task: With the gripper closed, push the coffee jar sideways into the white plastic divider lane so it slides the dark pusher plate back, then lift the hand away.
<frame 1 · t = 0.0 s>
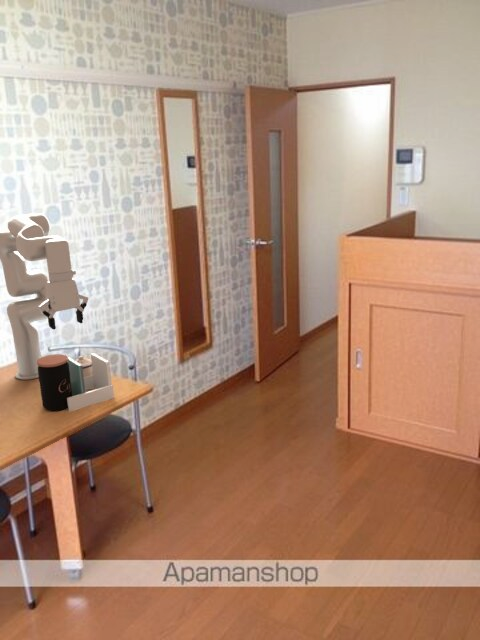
hand: (66, 325, 204), 31 cm above the table, tool pointing down, fingers open, 9 cm apart
coffee jar: (58, 406, 216), on the table
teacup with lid: (83, 383, 236), on the table
pusher plate: (75, 380, 219), point 8 cm above the table, slide at 0.0 cm
lane: (83, 398, 222), on the table
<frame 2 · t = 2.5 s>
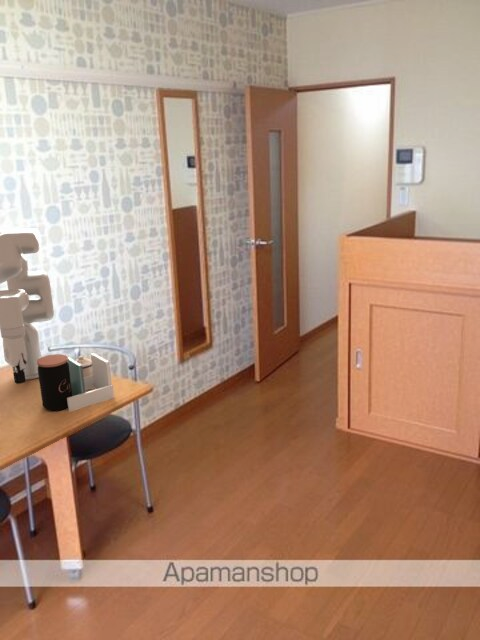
hand: (20, 382, 205), 13 cm above the table, tool pointing down, fingers closed
nothing on the table moved.
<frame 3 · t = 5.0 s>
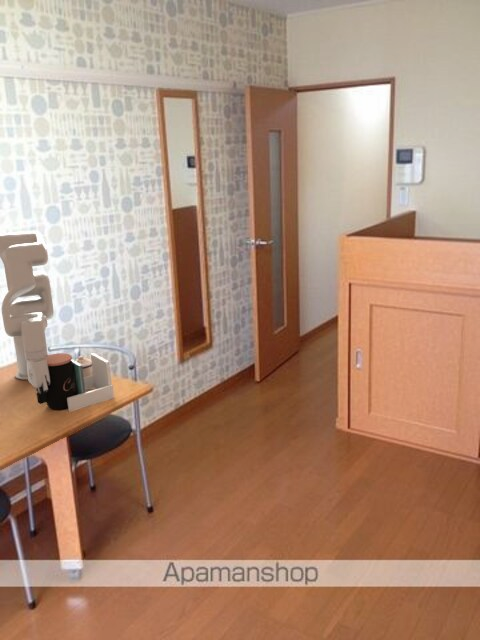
hand: (43, 402, 212), 3 cm above the table, tool pointing down, fingers closed
coffee jar: (62, 405, 217), on the table, touching gripper
everything else where it was.
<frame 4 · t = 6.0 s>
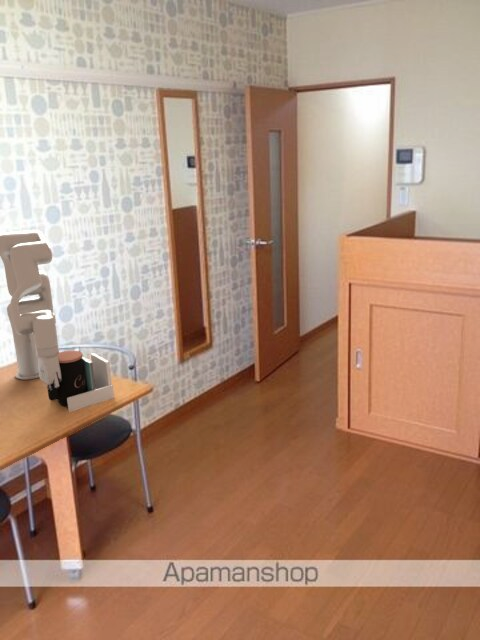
hand: (54, 398, 215), 3 cm above the table, tool pointing down, fingers closed
coffee jar: (73, 402, 220), on the table, touching gripper, pusher plate
pusher plate: (85, 377, 221), point 8 cm above the table, slide at 3.9 cm, touching coffee jar
everything else where it was.
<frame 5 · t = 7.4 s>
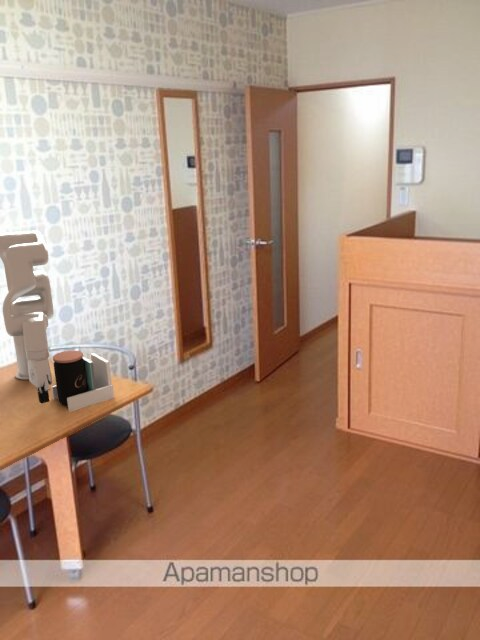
hand: (44, 401, 213), 3 cm above the table, tool pointing down, fingers closed
coffee jar: (73, 401, 220), on the table
pusher plate: (86, 377, 221), point 8 cm above the table, slide at 4.1 cm
everything else where it was.
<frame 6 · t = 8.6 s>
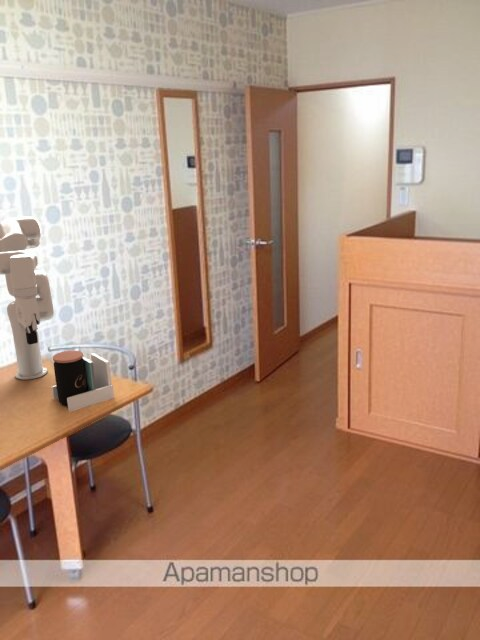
hand: (32, 343, 206), 25 cm above the table, tool pointing down, fingers closed
coffee jar: (73, 401, 220), on the table, touching pusher plate
pusher plate: (86, 377, 221), point 8 cm above the table, slide at 4.1 cm, touching coffee jar
everything else where it was.
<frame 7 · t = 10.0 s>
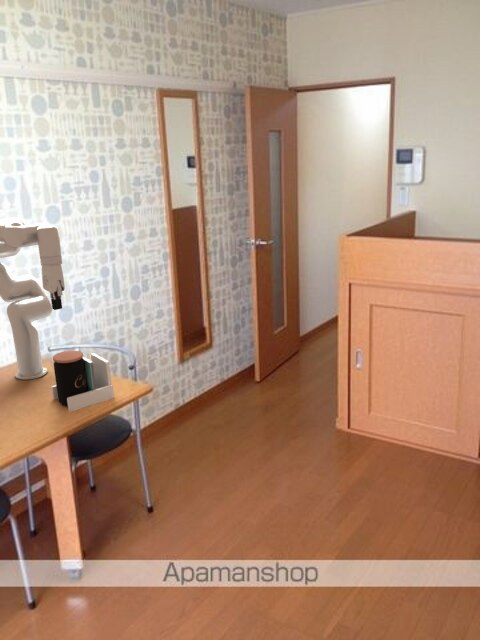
hand: (57, 308, 222), 32 cm above the table, tool pointing down, fingers closed
coffee jar: (73, 401, 220), on the table
pusher plate: (86, 377, 221), point 8 cm above the table, slide at 4.1 cm
everything else where it was.
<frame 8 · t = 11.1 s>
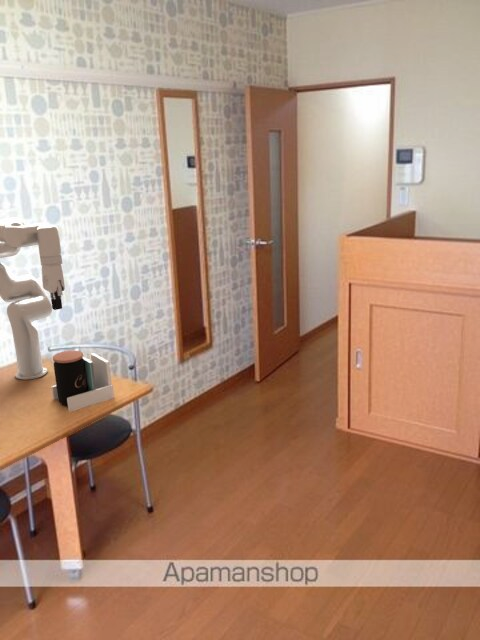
hand: (57, 308, 222), 32 cm above the table, tool pointing down, fingers closed
nothing on the table moved.
at the end: pusher plate slide at 4.1 cm; coffee jar inside the target area (1.9 cm from its centre), on the table; coffee jar tilted 0° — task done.
